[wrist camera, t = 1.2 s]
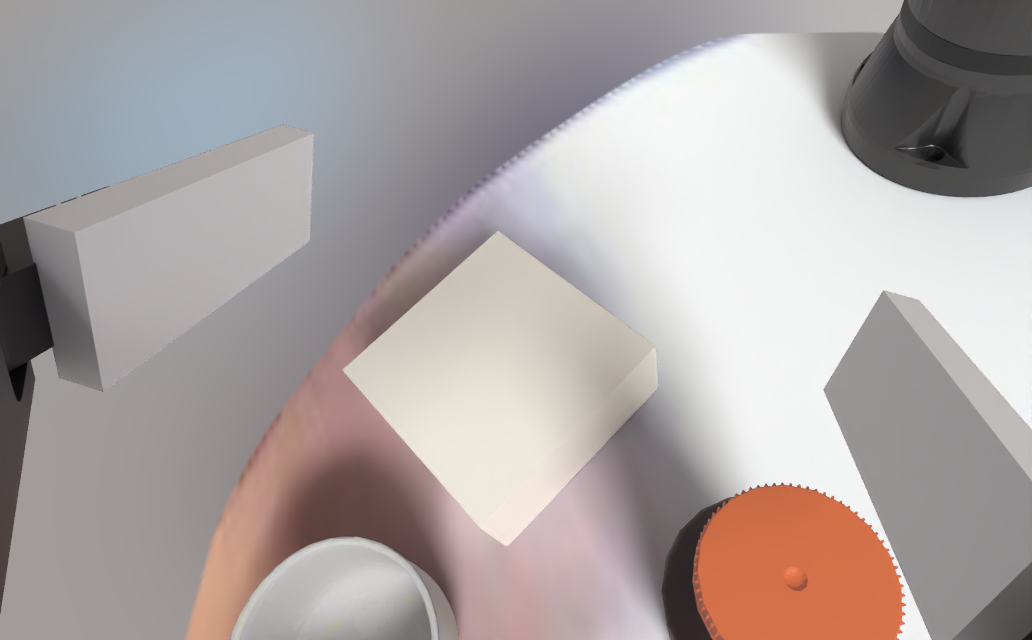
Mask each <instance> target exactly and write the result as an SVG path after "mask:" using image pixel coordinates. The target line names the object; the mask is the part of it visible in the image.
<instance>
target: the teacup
mask: <svg viewBox="0 0 1032 640" xmlns="http://www.w3.org/2000/svg"><path fill="white" fill-rule="evenodd" d="M230 640H459V634H458V629H457V624H456V620H455V617H454V614H453V611H452V609H451V606H450V604H449V602H448V600H447V598H446V597H445V595H444V593H443V592H442V590H441V589H440V588H439V586H438V585H437V583H436V582H435V581H434V580H433V579H432V578H431V577H430V576H429V575H428V574H427V573H426V572H424V571H423V570H422V569H421V568H419V567H418V566H416V565H415V564H414V563H412V562H410V561H409V560H407V559H405V558H404V557H403V556H402V555H401V554H399V553H398V552H397V551H395V550H393V549H391V548H390V547H388V546H386V545H384V544H382V543H379V542H377V541H374V540H370V539H367V538H362V537H334V538H329V539H325V540H321V541H318V542H315V543H312V544H310V545H308V546H306V547H304V548H302V549H300V550H299V551H297V552H295V553H293V554H292V555H291V556H289V557H288V558H286V559H285V560H284V561H283V562H282V563H280V564H279V565H278V566H276V567H275V568H274V569H273V570H272V571H271V572H270V573H269V574H268V575H267V576H266V577H265V578H264V580H263V581H262V582H261V583H260V585H259V586H258V587H257V588H256V590H255V591H254V592H253V594H252V595H251V597H250V598H249V600H248V602H247V603H246V604H245V606H244V608H243V610H242V612H241V614H240V616H239V618H238V621H237V623H236V625H235V627H234V630H233V632H232V635H231V638H230Z"/></svg>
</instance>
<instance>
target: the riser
mask: <svg viewBox="0 0 1032 640" xmlns="http://www.w3.org/2000/svg"><path fill="white" fill-rule="evenodd" d="M343 371H344V373H345V374H346V375H347V376H348V377H349V378H350V379H351V381H352V382H353V383H354V384H355V385H356V386H357V387H358V389H359V390H360V391H361V392H362V393H363V394H364V395H365V397H366V398H367V399H368V400H369V401H370V402H371V403H372V405H373V406H374V407H375V408H376V409H377V410H378V412H379V413H380V414H381V415H382V416H383V417H384V418H385V420H386V421H387V422H388V423H389V424H390V425H391V426H392V428H393V429H394V430H395V431H396V432H397V433H398V434H399V436H400V437H401V438H402V439H403V440H404V441H405V442H406V444H407V445H408V446H409V447H410V448H411V449H412V450H413V452H414V453H415V454H416V455H417V456H418V457H419V458H420V460H421V461H422V462H423V463H424V464H425V465H426V466H427V468H428V469H429V470H430V471H431V472H432V473H433V474H434V476H435V477H436V478H437V479H438V480H439V481H440V483H441V484H442V485H443V486H444V487H445V488H446V489H447V491H448V492H449V493H450V494H451V495H452V496H453V497H454V499H455V500H456V501H457V502H458V503H459V504H460V505H461V507H462V508H463V509H464V510H465V511H466V512H467V513H468V515H469V516H470V517H471V518H472V519H473V520H474V521H475V523H476V524H477V525H478V526H479V527H480V528H481V529H483V530H484V531H485V532H487V533H488V534H490V535H491V536H492V537H494V538H495V539H496V540H498V541H499V542H501V543H502V544H503V545H505V546H506V547H508V545H509V544H510V543H511V542H512V541H513V540H514V539H515V538H516V537H517V536H518V535H519V534H520V533H521V532H522V531H523V530H524V529H525V528H526V527H527V526H528V524H529V523H530V522H531V521H532V520H533V519H534V518H535V517H536V516H537V515H538V514H539V513H540V512H541V511H542V510H543V509H544V508H545V507H546V506H547V505H548V503H549V502H550V501H551V500H552V499H553V498H554V497H555V496H556V495H557V494H558V493H559V492H560V491H561V490H562V489H563V488H564V487H565V486H566V485H567V484H568V483H569V481H570V480H571V479H572V478H573V477H574V476H575V475H576V474H577V473H578V472H579V471H580V470H581V469H582V468H583V467H584V466H585V465H586V464H587V463H588V462H589V460H590V459H591V458H592V457H593V456H594V455H595V454H596V453H597V452H598V451H599V450H600V449H601V448H602V447H603V446H604V445H605V444H606V443H607V442H608V441H609V439H610V438H611V437H612V436H613V435H614V434H615V433H616V432H617V431H618V430H619V429H620V428H621V427H622V426H623V425H624V424H625V423H626V422H627V421H628V420H629V419H630V417H631V416H632V415H633V414H634V413H635V412H636V411H637V410H638V409H639V408H640V407H641V406H642V405H643V404H644V403H645V402H646V401H647V400H648V399H649V398H650V396H651V395H652V394H653V393H654V392H655V391H656V390H657V389H658V388H659V386H658V372H657V358H656V346H654V345H653V344H652V343H650V342H649V341H648V340H646V339H645V338H643V337H642V336H641V335H639V334H638V333H637V332H635V331H634V330H633V329H631V328H630V327H628V326H627V325H626V324H624V323H623V322H622V321H620V320H619V319H618V318H616V317H615V316H613V315H612V314H611V313H609V312H608V311H607V310H605V309H604V308H603V307H601V306H600V305H598V304H597V303H596V302H594V301H593V300H592V299H590V298H589V297H588V296H586V295H585V294H583V293H582V292H581V291H579V290H578V289H577V288H575V287H574V286H573V285H571V284H570V283H568V282H567V281H566V280H564V279H563V278H562V277H560V276H559V275H558V274H556V273H555V272H553V271H552V270H551V269H549V268H548V267H547V266H545V265H544V264H543V263H541V262H540V261H538V260H537V259H536V258H534V257H533V256H532V255H530V254H529V253H528V252H526V251H525V250H523V249H522V248H521V247H519V246H518V245H517V244H515V243H514V242H513V241H511V240H510V239H508V238H507V237H506V236H504V235H503V234H502V233H500V232H499V231H497V232H496V233H495V234H493V235H492V236H491V237H490V238H489V239H488V240H487V241H486V242H485V243H483V244H482V245H481V246H480V247H479V248H478V249H477V250H476V251H474V252H473V253H472V254H471V255H470V256H469V257H468V258H467V259H466V260H464V261H463V262H462V263H461V264H460V265H459V266H458V267H457V268H455V269H454V270H453V271H452V272H451V273H450V274H449V275H448V276H447V277H445V278H444V279H443V280H442V281H441V282H440V283H439V284H438V285H437V286H435V287H434V288H433V289H432V290H431V291H430V292H429V293H428V294H426V295H425V296H424V297H423V298H422V299H421V300H420V301H419V302H418V303H416V304H415V305H414V306H413V307H412V308H411V309H410V310H409V311H407V312H406V313H405V314H404V315H403V316H402V317H401V318H400V319H399V320H397V321H396V322H395V323H394V324H393V325H392V326H391V327H390V328H389V329H387V330H386V331H385V332H384V333H383V334H382V335H381V336H380V337H378V338H377V339H376V340H375V341H374V342H373V343H372V344H371V345H370V346H368V347H367V348H366V349H365V350H364V351H363V352H362V353H361V354H359V355H358V356H357V357H356V358H355V359H354V360H353V361H352V362H351V363H349V364H348V365H347V366H346V367H345V368H344V369H343Z"/></svg>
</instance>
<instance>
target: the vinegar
mask: <svg viewBox="0 0 1032 640" xmlns="http://www.w3.org/2000/svg"><path fill="white" fill-rule="evenodd" d="M825 495H826V493H825V492H824V493H823V494H821V493H819V492H817V489H815V490H810V489H809V487H808V486H807V487H806V489H804V488H801V486H800V484H799V485H798V486H797V487H794V486H792V484H791V483H790V484H789V486H788V485H784V484H783V483H781V485H778V486H776V484H775V483H773V485H772V486H768V485H767V484H765V486H764V487H760V486H759V485H757V488H754V489H752V488H751V487H750V489H749V491H748V492H745V491H744V490H743V491H742V493H741V495H738V494H737V493H736V494H735V497H729V498H727V499H725V500H723V501H720V502H718V503H716V504H714V505H712V506H709V507H707V508H705V509H703V510H701V511H700V512H699V513H698V514H697V515H696V516H695V517H694V518H693V519H692V520H691V521H690V522H689V523H688V524H687V525H686V526H685V527H684V528H683V529H682V530H680V532H679V534H678V536H677V538H676V540H675V542H674V544H673V546H672V548H671V550H670V552H669V554H668V556H667V558H666V564H665V571H664V579H663V586H662V595H663V601H664V607H665V614H666V620H667V626H668V630H669V634H670V639H671V640H899V639H897V638H896V637H897V634H900V633H903V632H902V631H901V630H899V628H900V625H903V624H905V623H904V622H903V621H902V616H903V615H906V614H905V613H904V612H902V606H906V604H904V603H902V597H904V596H905V595H904V594H902V593H901V587H903V585H901V584H900V582H899V580H898V578H900V577H901V576H900V575H897V574H896V571H895V569H897V568H898V567H897V566H894V565H893V562H892V560H893V559H894V558H893V557H890V554H889V553H888V552H887V551H889V549H885V547H884V546H883V545H882V543H883V542H884V540H881V541H880V540H879V539H878V537H877V535H878V533H877V532H876V533H874V532H873V530H872V529H871V527H872V525H867V524H866V523H865V522H864V520H865V518H863V519H860V518H859V517H858V516H857V514H858V512H855V513H853V512H852V511H851V510H850V506H848V507H846V506H845V505H844V504H842V501H840V502H838V501H836V500H834V496H832V497H831V498H829V497H827V496H825Z"/></svg>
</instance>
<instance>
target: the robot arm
mask: <svg viewBox="0 0 1032 640" xmlns="http://www.w3.org/2000/svg"><path fill="white" fill-rule="evenodd" d="M841 125H842V130H843V133H844V136H845V139H846V141H847V143H848V144H849V146H850V148H851V149H852V150H853V152H854V153H855V154H856V155H857V156H858V157H859V158H860V159H861V160H862V161H863V162H864V163H865V164H866V165H867V166H869V167H870V168H871V169H873V170H874V171H876V172H877V173H879V174H880V175H882V176H884V177H886V178H888V179H890V180H892V181H894V182H896V183H899V184H901V185H904V186H906V187H909V188H912V189H916V190H919V191H923V192H927V193H932V194H937V195H944V196H954V197H986V196H995V195H1002V194H1007V193H1012V192H1016V191H1019V190H1023V189H1026V188H1028V187H1031V186H1032V0H904V2H903V5H902V8H901V11H900V13H899V15H898V16H897V17H896V19H895V20H894V22H893V23H892V24H891V26H890V27H889V29H888V30H887V32H886V33H885V35H884V36H883V38H882V40H881V41H880V43H879V44H878V45H877V47H876V48H875V50H874V51H873V52H872V53H871V54H870V55H869V56H868V57H867V58H866V59H865V60H864V61H863V63H862V64H861V65H860V66H859V68H858V69H857V71H856V72H855V74H854V76H853V78H852V80H851V82H850V85H849V87H848V91H847V94H846V98H845V101H844V104H843V108H842V113H841ZM313 149H314V133H312V132H309V131H305V130H302V129H298V128H294V127H291V126H287V125H280V126H277V127H275V128H272V129H269V130H266V131H263V132H260V133H258V134H255V135H252V136H249V137H247V138H244V139H241V140H238V141H235V142H232V143H230V144H227V145H224V146H221V147H219V148H216V149H213V150H210V151H208V152H205V153H202V154H199V155H196V156H193V157H191V158H188V159H185V160H182V161H179V162H177V163H174V164H171V165H168V166H165V167H163V168H160V169H157V170H154V171H152V172H149V173H146V174H143V175H140V176H138V177H135V178H132V179H129V180H127V181H124V182H121V183H118V184H115V185H112V186H109V187H104V188H102V189H99V190H96V191H93V192H90V193H87V194H84V195H82V196H81V197H79V198H73V199H71V200H68V201H65V202H63V203H61V204H60V205H54V206H51V207H48V208H45V209H42V210H40V211H37V212H34V213H31V214H28V215H26V216H23V217H20V218H17V219H14V220H12V221H9V222H6V223H3V224H0V612H1V605H2V598H3V592H4V585H5V579H6V572H7V565H8V558H9V552H10V545H11V538H12V531H13V524H14V517H15V511H16V504H17V498H18V491H19V484H20V478H21V471H22V464H23V457H24V450H25V444H26V437H27V431H28V424H29V417H30V410H31V404H32V397H33V390H34V383H35V376H34V372H33V368H32V365H31V359H33V358H34V357H36V356H38V355H39V354H41V353H43V352H44V351H46V350H48V349H49V348H51V347H52V348H53V353H54V357H55V362H56V366H57V370H58V375H59V378H61V379H64V380H67V381H71V382H74V383H77V384H80V385H83V386H86V387H90V388H93V389H96V390H99V391H102V392H103V391H105V390H106V389H108V388H109V387H110V386H112V385H113V384H115V383H116V382H117V381H119V380H120V379H121V378H123V377H124V376H126V375H127V374H128V373H130V372H131V371H132V370H134V369H135V368H137V367H138V366H139V365H141V364H142V363H143V362H145V361H146V360H147V359H149V358H150V357H152V356H153V355H154V354H156V353H157V352H159V351H160V350H161V349H162V348H164V347H165V346H167V345H168V344H170V343H171V342H172V341H174V340H175V339H176V338H178V337H179V336H180V335H182V334H183V333H185V332H186V331H187V330H189V329H190V328H191V327H193V326H194V325H196V324H197V323H198V322H200V321H201V320H202V319H204V318H205V317H207V316H208V315H209V314H211V313H212V312H213V311H215V310H216V309H217V308H219V307H220V306H222V305H223V304H224V303H226V302H227V301H229V300H230V299H231V298H233V297H234V296H235V295H237V294H238V293H239V292H241V291H242V290H243V289H245V288H246V287H247V286H249V285H251V284H252V283H253V282H255V281H256V280H257V279H259V278H260V277H261V276H263V275H264V274H266V273H267V272H268V271H270V270H271V269H272V268H274V267H275V266H277V265H278V264H279V263H281V262H282V261H283V260H285V259H286V258H287V257H289V256H290V255H292V254H293V253H294V252H296V251H297V250H299V249H300V248H301V247H303V246H304V245H305V244H307V243H308V242H309V241H310V226H311V200H312V199H311V198H312V175H313V174H312V173H313ZM824 392H825V394H826V397H827V399H828V401H829V404H830V406H831V408H832V411H833V413H834V415H835V418H836V420H837V422H838V424H839V427H840V429H841V431H842V434H843V436H844V438H845V441H846V443H847V445H848V448H849V450H850V452H851V454H852V457H853V459H854V461H855V464H856V466H857V468H858V471H859V473H860V475H861V478H862V480H863V482H864V484H865V487H866V489H867V491H868V494H869V496H870V498H871V501H872V503H873V505H874V508H875V510H876V512H877V514H878V517H879V519H880V521H881V524H882V526H883V528H884V531H885V533H886V535H887V538H888V540H889V542H890V544H891V547H892V549H893V551H894V554H895V556H896V558H897V561H898V563H899V565H900V568H901V570H902V572H903V574H904V577H905V579H906V581H907V584H908V586H909V588H910V591H911V593H912V595H913V598H914V600H915V602H916V604H917V607H918V609H919V611H920V614H921V616H922V618H923V621H924V623H925V625H926V628H927V630H928V632H929V634H930V637H931V639H932V640H1032V430H1031V428H1030V427H1029V426H1028V425H1027V424H1026V423H1025V422H1024V420H1023V419H1022V418H1021V417H1020V416H1019V415H1018V413H1017V412H1016V411H1015V410H1014V409H1013V408H1012V407H1011V405H1010V404H1009V403H1008V402H1007V401H1006V400H1005V399H1004V397H1003V396H1002V395H1001V394H1000V393H999V392H998V390H997V389H996V388H995V387H994V386H993V385H992V384H991V382H990V381H989V380H988V379H987V378H986V377H985V376H984V374H983V373H982V372H981V371H980V370H979V369H978V367H977V366H976V365H975V364H974V363H973V362H972V361H971V359H970V358H969V357H968V356H967V355H966V354H965V353H964V351H963V350H962V349H961V348H960V347H959V346H958V344H957V343H956V342H955V341H954V340H953V339H952V338H951V336H950V335H949V334H948V333H947V332H946V331H945V330H944V328H943V327H942V326H941V325H940V324H939V323H938V321H937V320H936V319H935V318H934V317H933V316H932V315H931V313H930V312H929V311H928V310H927V309H926V308H925V307H924V305H923V304H922V303H921V302H920V301H919V300H917V299H913V298H909V297H906V296H902V295H898V294H895V293H891V292H888V291H884V290H883V292H882V294H881V295H880V297H879V299H878V300H877V302H876V303H875V305H874V307H873V308H872V310H871V312H870V313H869V315H868V317H867V318H866V320H865V322H864V323H863V325H862V327H861V328H860V330H859V332H858V333H857V335H856V337H855V338H854V340H853V342H852V343H851V345H850V347H849V348H848V350H847V352H846V353H845V355H844V356H843V358H842V360H841V361H840V363H839V365H838V366H837V368H836V370H835V371H834V373H833V375H832V376H831V378H830V380H829V381H828V383H827V385H826V386H825V388H824Z"/></svg>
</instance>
